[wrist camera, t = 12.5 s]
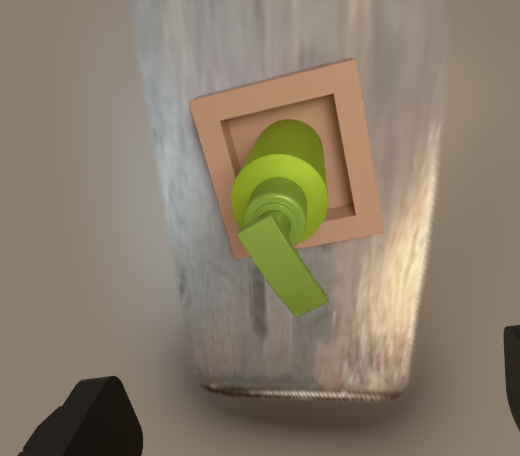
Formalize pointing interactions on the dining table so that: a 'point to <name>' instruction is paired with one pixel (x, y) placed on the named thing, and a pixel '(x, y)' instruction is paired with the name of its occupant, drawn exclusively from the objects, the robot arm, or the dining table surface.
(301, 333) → the dining table surface
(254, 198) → the green pump bottle
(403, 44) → the dining table surface
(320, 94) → the tray
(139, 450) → the robot arm
